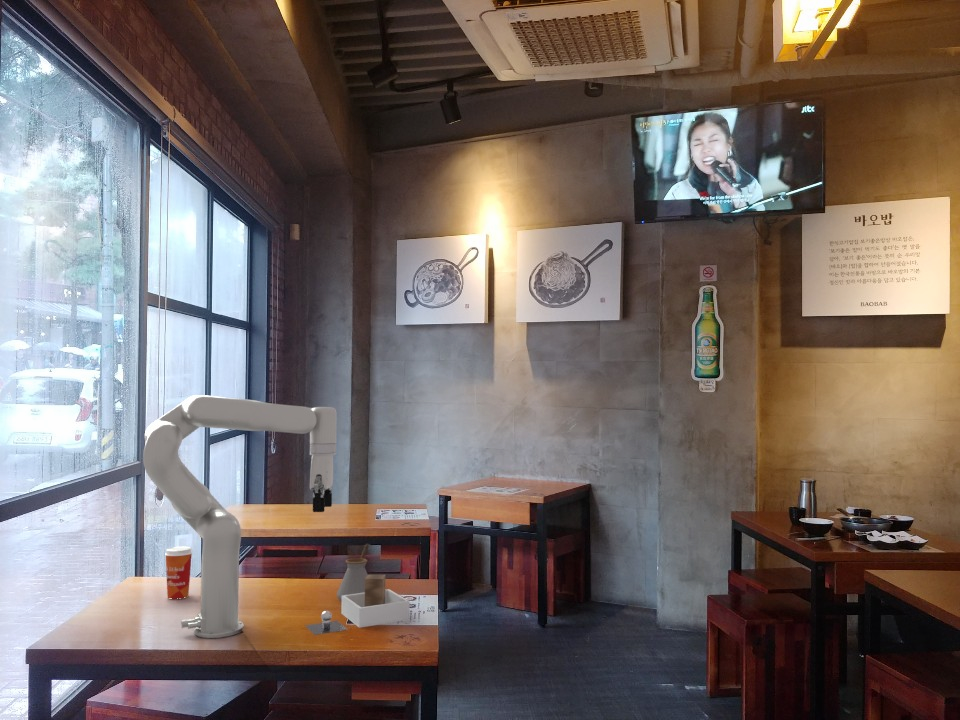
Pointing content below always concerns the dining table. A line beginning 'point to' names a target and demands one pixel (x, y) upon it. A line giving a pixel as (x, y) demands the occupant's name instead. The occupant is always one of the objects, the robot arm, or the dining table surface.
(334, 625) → the stud plate
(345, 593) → the coffee pot
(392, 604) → the grey bin
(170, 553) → the coffee cup
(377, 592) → the walnut post
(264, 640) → the dining table surface
